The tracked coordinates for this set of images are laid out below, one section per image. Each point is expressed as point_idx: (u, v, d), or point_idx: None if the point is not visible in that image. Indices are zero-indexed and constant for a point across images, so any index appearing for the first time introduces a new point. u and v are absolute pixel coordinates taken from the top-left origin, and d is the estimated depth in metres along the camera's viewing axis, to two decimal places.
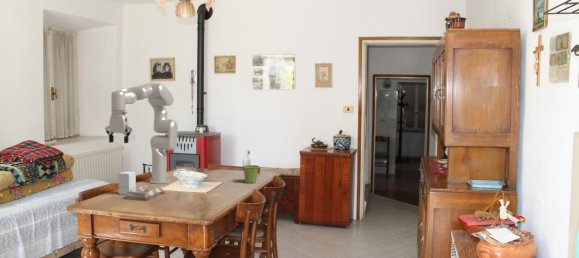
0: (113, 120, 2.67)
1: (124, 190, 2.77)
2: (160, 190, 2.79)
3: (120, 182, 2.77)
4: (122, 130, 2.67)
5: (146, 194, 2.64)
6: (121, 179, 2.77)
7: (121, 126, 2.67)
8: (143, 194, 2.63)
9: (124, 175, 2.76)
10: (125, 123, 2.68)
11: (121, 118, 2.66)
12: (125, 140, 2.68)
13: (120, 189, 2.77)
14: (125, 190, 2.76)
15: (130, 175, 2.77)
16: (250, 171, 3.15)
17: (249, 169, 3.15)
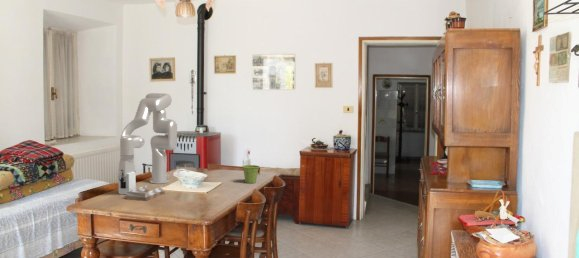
0: (129, 165, 2.77)
1: (124, 190, 2.77)
2: (160, 190, 2.79)
3: None
4: None
5: (146, 194, 2.64)
6: None
7: (133, 169, 2.82)
8: (143, 194, 2.63)
9: None
10: None
11: (133, 161, 2.82)
12: None
13: (120, 189, 2.77)
14: (125, 190, 2.76)
15: (130, 175, 2.77)
16: (250, 171, 3.15)
17: (249, 169, 3.15)
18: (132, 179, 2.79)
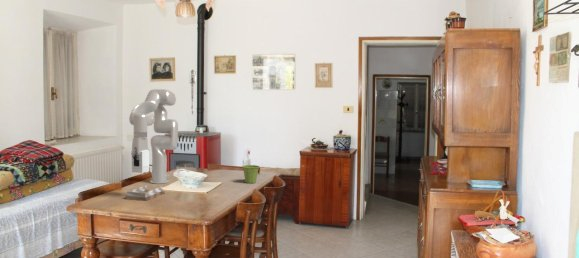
0: (142, 143, 2.71)
1: (137, 168, 2.71)
2: (160, 190, 2.79)
3: (133, 160, 2.71)
4: None
5: (146, 194, 2.64)
6: None
7: (147, 147, 2.76)
8: (143, 194, 2.63)
9: (137, 153, 2.70)
10: None
11: None
12: None
13: (133, 167, 2.71)
14: (138, 168, 2.70)
15: (143, 153, 2.71)
16: (250, 171, 3.15)
17: (249, 169, 3.15)
18: (145, 157, 2.73)
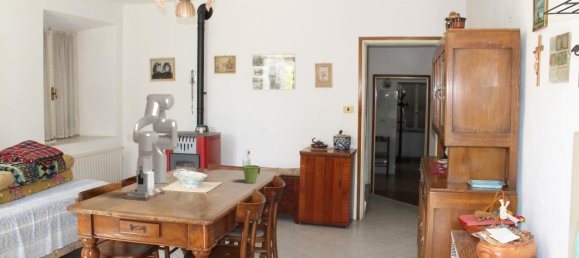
0: (147, 161, 2.71)
1: (142, 190, 2.71)
2: (160, 190, 2.79)
3: None
4: (152, 169, 2.76)
5: (146, 194, 2.64)
6: None
7: (151, 165, 2.75)
8: (143, 194, 2.63)
9: (143, 175, 2.70)
10: None
11: (151, 158, 2.75)
12: None
13: (138, 189, 2.71)
14: (144, 190, 2.70)
15: (149, 175, 2.71)
16: (250, 171, 3.15)
17: (249, 169, 3.15)
18: (151, 179, 2.73)
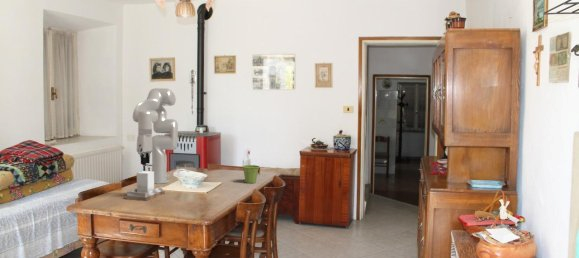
0: (147, 140, 2.70)
1: (142, 190, 2.71)
2: (160, 190, 2.79)
3: (138, 182, 2.71)
4: (151, 148, 2.75)
5: (146, 194, 2.64)
6: (140, 179, 2.70)
7: (151, 144, 2.74)
8: (143, 194, 2.63)
9: (143, 175, 2.70)
10: None
11: (151, 136, 2.74)
12: None
13: (138, 189, 2.71)
14: (144, 190, 2.70)
15: (149, 175, 2.71)
16: (250, 171, 3.15)
17: (249, 169, 3.15)
18: (151, 179, 2.73)
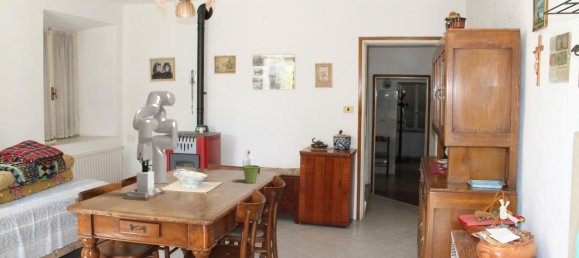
0: (147, 148, 2.70)
1: (142, 190, 2.71)
2: (160, 190, 2.79)
3: (138, 182, 2.71)
4: (151, 156, 2.75)
5: (146, 194, 2.64)
6: (140, 179, 2.70)
7: (151, 152, 2.75)
8: (143, 194, 2.63)
9: (143, 175, 2.70)
10: None
11: (151, 145, 2.74)
12: None
13: (138, 189, 2.71)
14: (144, 190, 2.70)
15: (149, 175, 2.71)
16: (250, 171, 3.15)
17: (249, 169, 3.15)
18: (151, 179, 2.73)
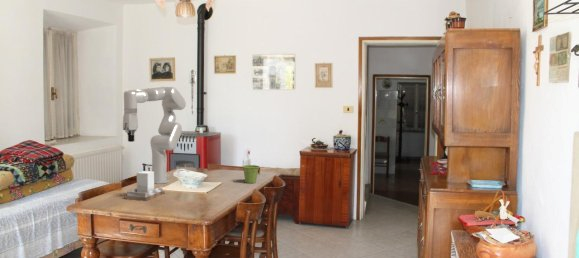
0: (133, 118, 2.84)
1: (142, 190, 2.71)
2: (160, 190, 2.79)
3: (138, 182, 2.71)
4: (137, 126, 2.89)
5: (146, 194, 2.64)
6: (140, 179, 2.70)
7: (137, 123, 2.89)
8: (143, 194, 2.63)
9: (143, 175, 2.70)
10: None
11: (136, 115, 2.88)
12: None
13: (138, 189, 2.71)
14: (144, 190, 2.70)
15: (149, 175, 2.71)
16: (250, 171, 3.15)
17: (249, 169, 3.15)
18: (151, 179, 2.73)
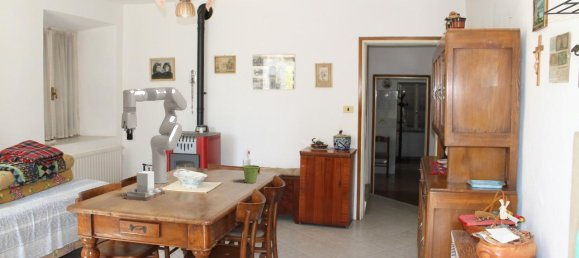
0: (131, 117, 2.85)
1: (142, 190, 2.71)
2: (160, 190, 2.79)
3: (138, 182, 2.71)
4: (136, 125, 2.90)
5: (146, 194, 2.64)
6: (140, 179, 2.70)
7: (135, 121, 2.90)
8: (143, 194, 2.63)
9: (143, 175, 2.70)
10: None
11: (135, 114, 2.89)
12: None
13: (138, 189, 2.71)
14: (144, 190, 2.70)
15: (149, 175, 2.71)
16: (250, 171, 3.15)
17: (249, 169, 3.15)
18: (151, 179, 2.73)
